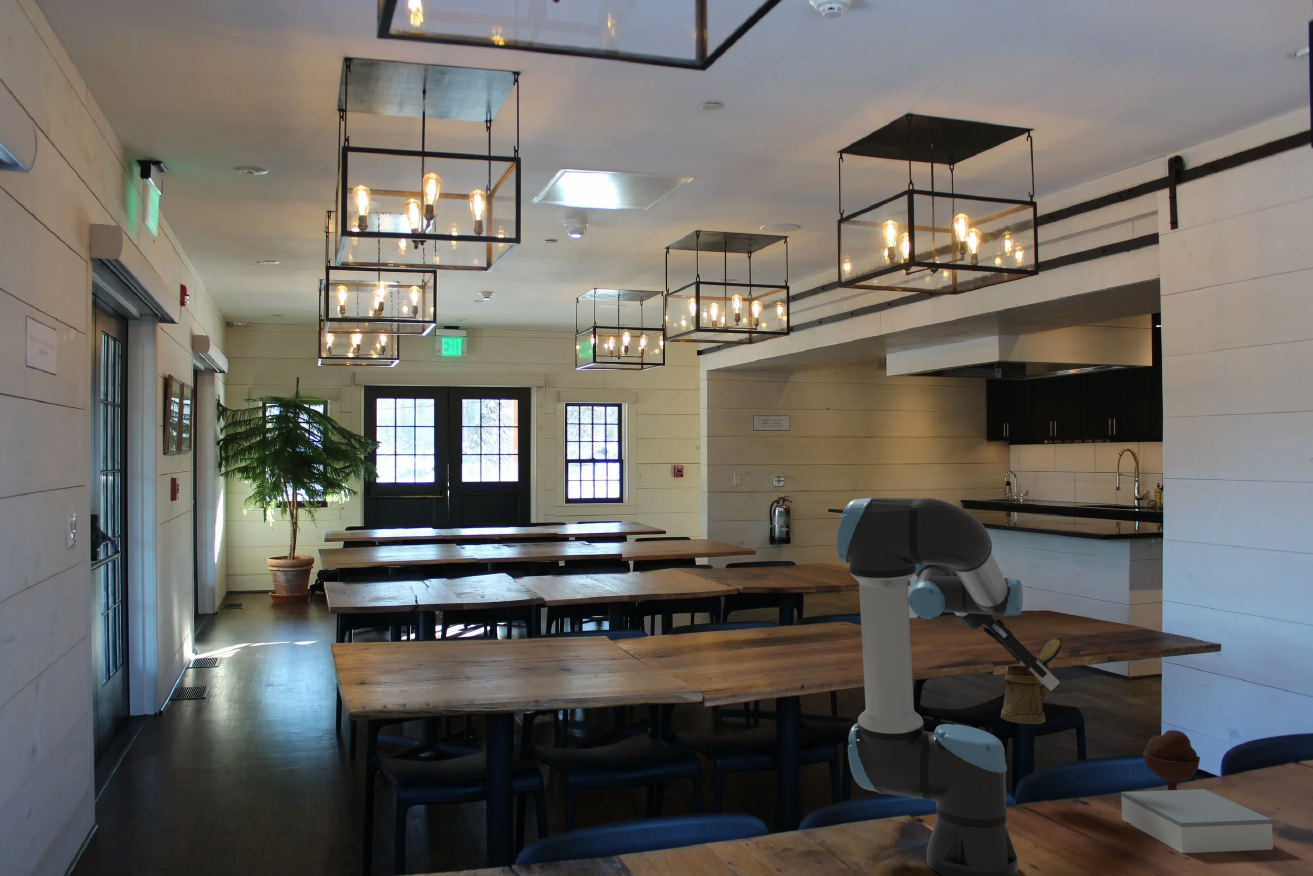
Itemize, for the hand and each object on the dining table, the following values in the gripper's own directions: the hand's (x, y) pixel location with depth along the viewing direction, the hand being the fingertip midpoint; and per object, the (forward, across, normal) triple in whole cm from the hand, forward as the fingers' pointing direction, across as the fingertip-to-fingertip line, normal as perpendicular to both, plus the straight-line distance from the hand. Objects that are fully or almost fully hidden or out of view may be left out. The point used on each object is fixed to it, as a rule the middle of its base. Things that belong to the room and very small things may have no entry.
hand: (1050, 683), depth 204 cm
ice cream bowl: (+35, +2, 0) cm, 35 cm away
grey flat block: (+32, -19, +2) cm, 37 cm away
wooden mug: (+3, 0, +8) cm, 9 cm away
